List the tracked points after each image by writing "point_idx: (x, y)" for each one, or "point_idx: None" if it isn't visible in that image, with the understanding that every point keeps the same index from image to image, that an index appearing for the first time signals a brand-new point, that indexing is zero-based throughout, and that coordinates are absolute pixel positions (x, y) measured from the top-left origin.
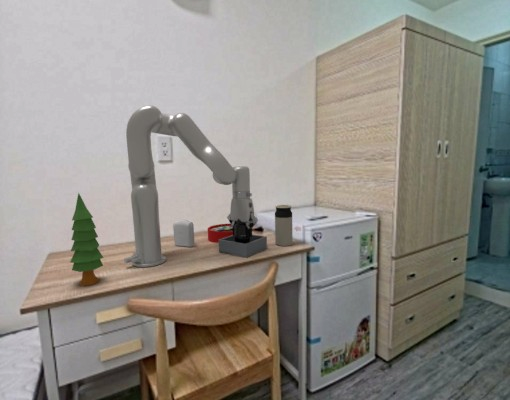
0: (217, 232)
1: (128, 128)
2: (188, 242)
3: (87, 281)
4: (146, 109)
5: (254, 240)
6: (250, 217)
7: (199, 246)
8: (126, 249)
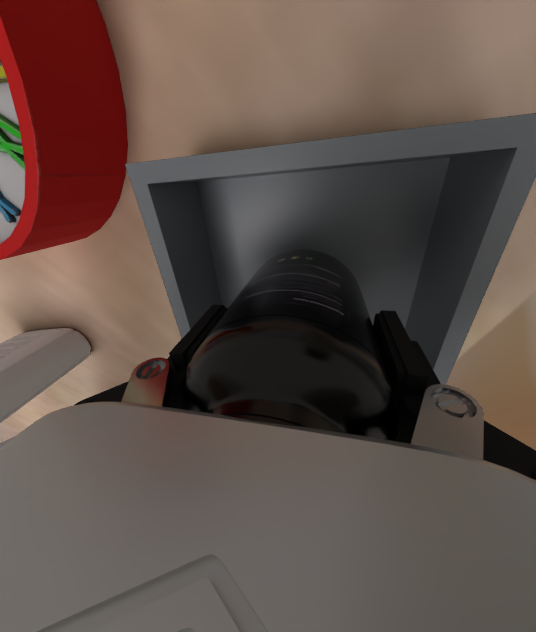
0: (10, 256)
1: None
2: (73, 367)
3: None
4: None
5: (445, 338)
6: (484, 596)
7: (98, 327)
8: (34, 419)
